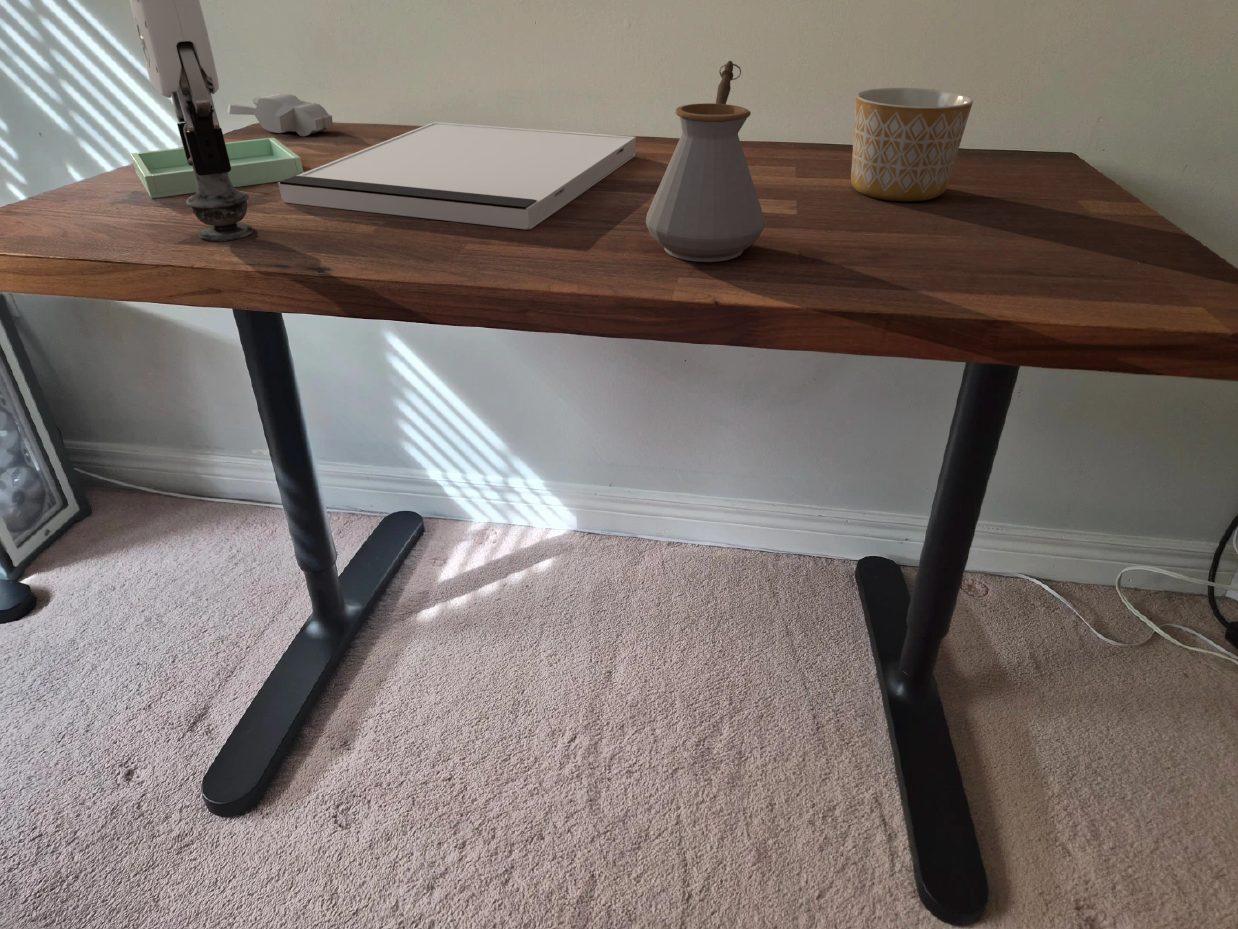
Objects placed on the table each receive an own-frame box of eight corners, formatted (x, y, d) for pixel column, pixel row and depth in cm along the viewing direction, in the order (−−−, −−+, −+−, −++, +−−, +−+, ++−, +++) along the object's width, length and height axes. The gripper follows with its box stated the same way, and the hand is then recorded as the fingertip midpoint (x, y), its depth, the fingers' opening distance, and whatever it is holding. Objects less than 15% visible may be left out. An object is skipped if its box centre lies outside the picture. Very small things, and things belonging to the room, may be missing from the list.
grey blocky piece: (301, 111, 120) (217, 92, 123) (305, 148, 122) (223, 128, 126) (342, 100, 127) (262, 82, 131) (345, 135, 130) (266, 116, 133)
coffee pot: (757, 273, 76) (774, 96, 68) (634, 264, 78) (636, 91, 70) (772, 208, 93) (787, 61, 85) (671, 202, 95) (676, 57, 87)
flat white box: (527, 206, 85) (277, 180, 94) (529, 230, 87) (282, 202, 95) (635, 136, 113) (434, 121, 121) (635, 155, 114) (436, 139, 123)
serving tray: (151, 198, 96) (144, 176, 95) (136, 173, 106) (130, 153, 105) (304, 177, 104) (300, 157, 103) (278, 156, 114) (273, 137, 113)
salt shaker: (268, 230, 86) (240, 106, 80) (218, 245, 82) (183, 116, 76) (234, 221, 89) (203, 100, 83) (184, 235, 85) (147, 110, 79)
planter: (964, 186, 101) (985, 93, 95) (935, 212, 92) (955, 111, 86) (863, 172, 107) (877, 84, 101) (826, 194, 98) (839, 99, 92)
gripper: (95, -51, 76) (156, 156, 86) (115, -46, 65) (183, 193, 75) (183, -52, 80) (232, 147, 90) (217, -48, 68) (269, 181, 78)
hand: (209, 166), depth 82 cm, fingers closed on salt shaker, 3 cm apart
